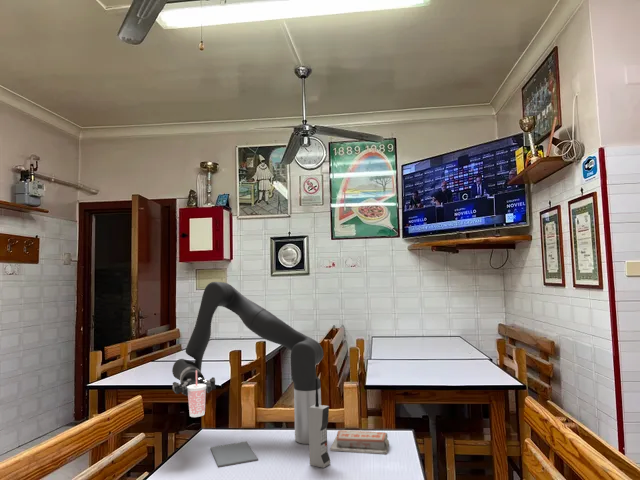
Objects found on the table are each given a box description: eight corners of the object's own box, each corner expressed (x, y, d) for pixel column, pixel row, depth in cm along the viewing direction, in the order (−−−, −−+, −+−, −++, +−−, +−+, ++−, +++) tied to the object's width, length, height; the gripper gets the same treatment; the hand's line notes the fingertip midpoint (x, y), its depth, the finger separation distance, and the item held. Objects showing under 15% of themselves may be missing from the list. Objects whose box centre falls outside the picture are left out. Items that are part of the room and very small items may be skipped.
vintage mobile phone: (324, 468, 130) (321, 380, 132) (309, 465, 133) (307, 378, 135) (330, 463, 133) (328, 377, 136) (316, 460, 136) (314, 376, 138)
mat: (246, 442, 152) (246, 441, 152) (258, 460, 138) (258, 458, 138) (210, 448, 148) (210, 447, 148) (218, 467, 133) (218, 465, 133)
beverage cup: (187, 419, 140) (186, 373, 141) (187, 413, 146) (186, 369, 146) (207, 416, 141) (206, 371, 142) (206, 410, 147) (205, 367, 148)
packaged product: (388, 429, 150) (386, 439, 140) (389, 444, 149) (386, 456, 140) (335, 426, 154) (329, 436, 144) (335, 441, 153) (329, 452, 144)
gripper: (169, 370, 155) (173, 381, 139) (212, 366, 160) (220, 376, 145) (170, 393, 154) (173, 406, 139) (212, 387, 160) (221, 399, 144)
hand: (197, 390), depth 142 cm, fingers closed on beverage cup, 6 cm apart
